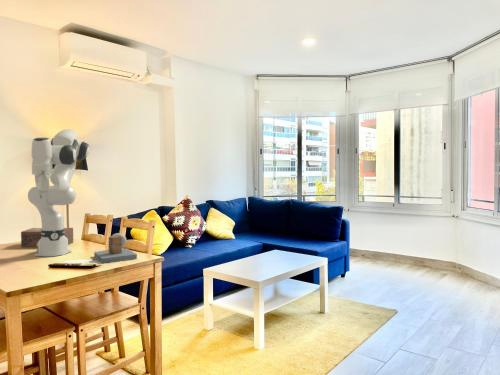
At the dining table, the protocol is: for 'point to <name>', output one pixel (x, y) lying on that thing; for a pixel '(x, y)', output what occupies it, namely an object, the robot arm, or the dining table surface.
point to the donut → (122, 238)
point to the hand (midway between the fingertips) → (43, 199)
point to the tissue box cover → (34, 235)
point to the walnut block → (115, 245)
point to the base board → (115, 256)
